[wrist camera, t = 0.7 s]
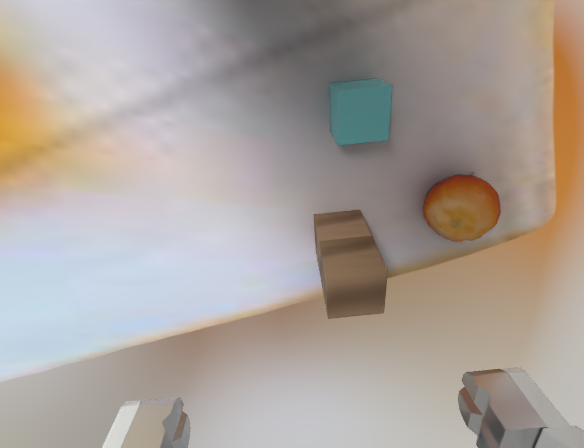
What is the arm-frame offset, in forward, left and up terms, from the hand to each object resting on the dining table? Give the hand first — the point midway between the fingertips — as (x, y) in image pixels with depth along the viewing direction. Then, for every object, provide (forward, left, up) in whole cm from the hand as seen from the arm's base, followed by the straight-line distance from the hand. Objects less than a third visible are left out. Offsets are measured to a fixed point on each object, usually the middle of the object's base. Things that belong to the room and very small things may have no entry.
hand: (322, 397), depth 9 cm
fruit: (+11, +19, -31) cm, 38 cm away
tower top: (+15, +5, -24) cm, 29 cm away
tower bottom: (+15, +5, -30) cm, 34 cm away
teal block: (-1, +7, -30) cm, 31 cm away
